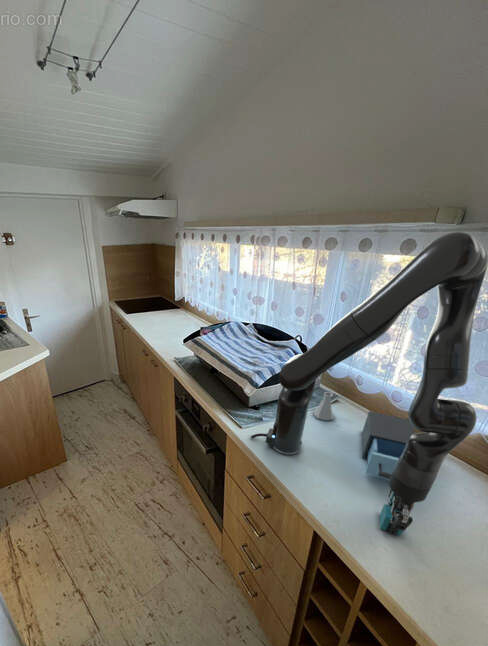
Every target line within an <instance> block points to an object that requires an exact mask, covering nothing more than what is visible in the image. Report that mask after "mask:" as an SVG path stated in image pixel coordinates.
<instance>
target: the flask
mask: <svg viewBox="0 0 488 646" xmlns="http://www.w3.org/2000/svg"><path fill="white" fill-rule="evenodd" d="M333 396H334V394H333V393H332V392H329V391H325V392H323V398H322V401H321V402H320V403H319V404H318V406H317V407H316V408H315V410H314V413H313V415H314V416H315V417H316V418H317V419H319V420H323V421H332V420H333V419H334V414H333V409H332V398H333Z"/></svg>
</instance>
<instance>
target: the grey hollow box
mask: <svg viewBox="0 0 488 646" xmlns="http://www.w3.org/2000/svg"><path fill="white" fill-rule="evenodd" d="M413 434H416V431H415V428H414V427H413V426H412V425H411V423H410V421H409V418H404V417H399V416H394V415H390V414H386V413H380V412H376V411H371V410H369V411H368V413H367V416H366V419H365V421H364V425H363V428H362V431H361V458H362V459H365V460H368V452H367V451H368V448H369V445H370V442H371V439H372V437H374V438H378V439H382V440H386V441H390V442H395V443H399V444H403V445H406V443H407V441H408V439H409V437H410V436H411V435H413Z"/></svg>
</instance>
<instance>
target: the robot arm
mask: <svg viewBox="0 0 488 646" xmlns="http://www.w3.org/2000/svg"><path fill="white" fill-rule="evenodd" d="M487 270H488V251H487V249H486V248H485V247H484V245H483V244H482V243H481V242H480V241H478V240H477V238H476V237H474V236H473V235H472V234H470V233H468V232H464V231H454V232H450V233H445V234H444V235H442V236H440V237H438V238H436V239H435V240H433V241H432V242H430V243H429V244H428V245H427V246H425V247H424V248H423V249H422V250H421V251H420V252H419V253H418V254H416V256H414V258H412V260H411V261H409V262H408V263H407V264H405V266H404V267H403V268H401V269H400V271H399V272H398V273H396V275H394V276H393V277H392V278H391V279H390V280H389V281H388V282H386V283H385V284H383V285H382V286H381V287H380V288H379V289H377V290H376V291H375V292H374V293H373V294H371V295H370V296H368V298H366V299H365V300H364V301H363V302H362V303H360V304H359V305H357V306H356V307H355V308H353V309H352V310H351V311H349V312H348V313H347V314H346V315H344V316H343V317H342V318H341V319H339V320H338V321H336V323H335V324H334V325H332V327H330V329H328V330H327V331H326V332H325V333H324V335H323V336H321V337H320V338H319V340H317V341H316V343H315V344H314V345H313V346H312V347H310V348H309V349H308V350H307V351H305V352H304V353H299V354H296V355H294V356H292V357H291V358H290V359H288V360H287V361H286V362H285V363H284V364H283V365H282V367H281V368H280V371H279V374H278V381H279V384H280V385H281V388H282V389H281V391H280V393H279V395H278V401H277V407H276V413H275V420H274V421H275V422H274V423H273V427H272V428H269V429H268V432H267V433H255V434H252V435H251V437H250V438H252V439H255V438H257V437H265V443H266V444H269V445H270V448H271V449H274V450H275V451H276V452H277V453H279V454H281V455H286V456H287V455H288V456H293V455H296V454H298V453H299V452H300V451H301V446H302V444H303V441H302V439H303V435H304V431H305V425H306V419H307V415H308V412H309V411H308V410H309V405H310V402H311V399H312V397H313V394H314V389H315V386H316V381H317V379H318V378H319V377H321V376H322V375H323V374H324V373H326V372H327V371H328V370H329V369H331V368H332V367H334V366H337V365H338V364H340V363H342V362H343V361H345V360H346V359H348V358H350V357H351V356H353V355H355V354H356V353H358V352H360V351H361V350H363V349H365V348H366V347H368V346H369V345H371V344H372V343H373V342H375V341H377V340H378V339H380V338H381V337H383V336H384V335H385V334H386V333H387V332H388V331H389V330H390V329H391V327H392V326H393V325H394V324H395V322H396V321H397V320H398V318H399V317H400V316H401V314H402V313H403V312H404V311H405V310H406V309H407V307H409V306H410V305H411V304H412V303H414V301H416V300H418V299H419V298H420V297H422V296H424V294H426V293H428V292H429V291H431V290H433V289H434V288H435V287H437V288H436V289H437V298H438V304H437V305H438V306H437V311H436V312H437V313H436V316H435V319H434V321H433V325H432V328H431V330H430V332H429V335H428V337H427V339H426V344H425V348H424V354H423V364H422V365H423V367H422V376H421V379H420V381H419V385H418V387H417V391H416V393H415V395H414V397H413V399H412V401H411V404H410V406H409V409H408V413H407V414H408V419H409V421H410V423H411V425H412V426H413V428H414V430H416V431H418V432H415V434H413V435H411V436H410V437H409V439H408V441H407V443H406V445H405V447H404V450H403V452H402V454H401V456H400V457H399V459H398V461H397V463H396V465H395V468H394V470H393V472H392V475H391V477H390V479H389V480H388V487H389V489H390V491H389V494H388V499H389V500H388V504H387V505H389V506H392V507H391V514H392V516H391V519H390V522H389V524H388V526H387V528H386V530H385V532H386V533H388V534H392V535H394V536H396V535H398V534H397V533H398V531H399V530H402V531H403V532H405V531H406V530H407V529H408V528H409V527H410V525H411V524H412V523H413V522H414V519H413V517H411V516H410V513H411V511H412V510H413V509H414V507H415V504H416V503H420V502H421V503H422V502H424V501H425V500H426V499H427V497H428V495H429V493H430V492H431V489H432V488H433V485H434V483H435V482H436V480H437V477H438V474H439V471H440V469H441V468H442V465H443V463H444V461H445V459H446V457H447V455H448V454H450V453H451V452H453V450H454V449H456V448H457V447H458V446H459V445H460V444H461V443H462V442H464V441H465V440H466V439H467V438H468V437H469V436H470V435H471V434H472V432H473V431H474V429H475V427H476V424H477V417H478V416H477V412H476V410H475V408H474V407H473V406H472V404H470V403H468V402H465V401H463V400H457V399H444V398H439V397H440V395H441V394H442V393H443V391H444V390H447V389H457V388H461V387H464V386H465V385H466V384H467V382H468V378H469V377H468V375H469V367H470V365H469V364H470V355H471V354H470V353H471V342H472V333H473V332H472V331H473V324H474V320H475V319H474V318H475V312H476V308H477V304H478V300H479V296H480V292H481V288H482V285H483V282H484V280H485V276H486V273H487ZM395 509H396V510H397V511H395ZM398 511H400V512H398ZM401 512H402V513H401ZM396 516H397V517H396ZM395 517H396V518H395Z"/></svg>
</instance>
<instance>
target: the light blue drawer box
mask: <svg viewBox="0 0 488 646" xmlns="http://www.w3.org/2000/svg"><path fill="white" fill-rule="evenodd" d="M404 447H405V445H403V444H399V443H395V442H390V441H386V440H382V439H378V438H374V437H372V439H371V442H370V445H369V448H368V451H367V452H368V459H367V465H366V467H365V472H364V473H365V474H366V475H369V476H374V477H377V478H380V479H384V480H388V481H389V479H390V477H391V475H392V472H393V470H394V468H395V465H396V463H397V461H398V459H399V457H400V456H401V454H402V452H403V450H404Z"/></svg>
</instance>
